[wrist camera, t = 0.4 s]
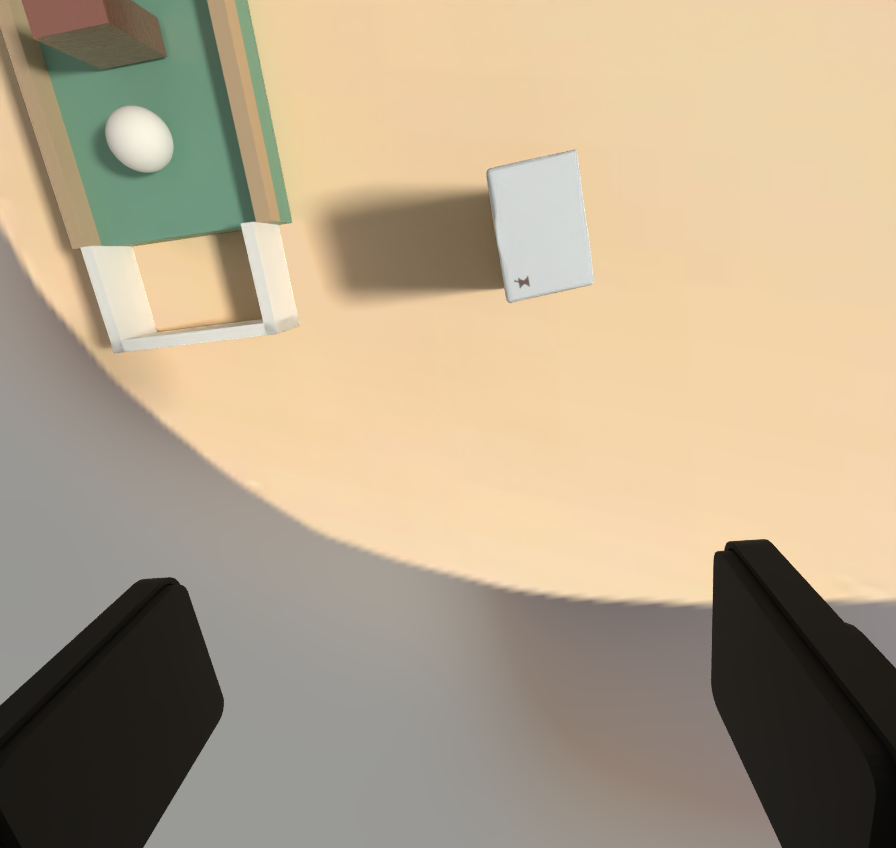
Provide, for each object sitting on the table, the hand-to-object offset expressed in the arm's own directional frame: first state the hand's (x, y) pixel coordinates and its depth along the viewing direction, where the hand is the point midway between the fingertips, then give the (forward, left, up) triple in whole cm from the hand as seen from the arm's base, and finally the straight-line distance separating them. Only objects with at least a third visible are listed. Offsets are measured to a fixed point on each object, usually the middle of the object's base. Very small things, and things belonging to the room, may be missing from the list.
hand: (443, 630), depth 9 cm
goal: (-6, -20, -30) cm, 36 cm away
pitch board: (-22, -20, -30) cm, 42 cm away
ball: (-15, -20, -26) cm, 36 cm away
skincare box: (-7, +3, -30) cm, 31 cm away
